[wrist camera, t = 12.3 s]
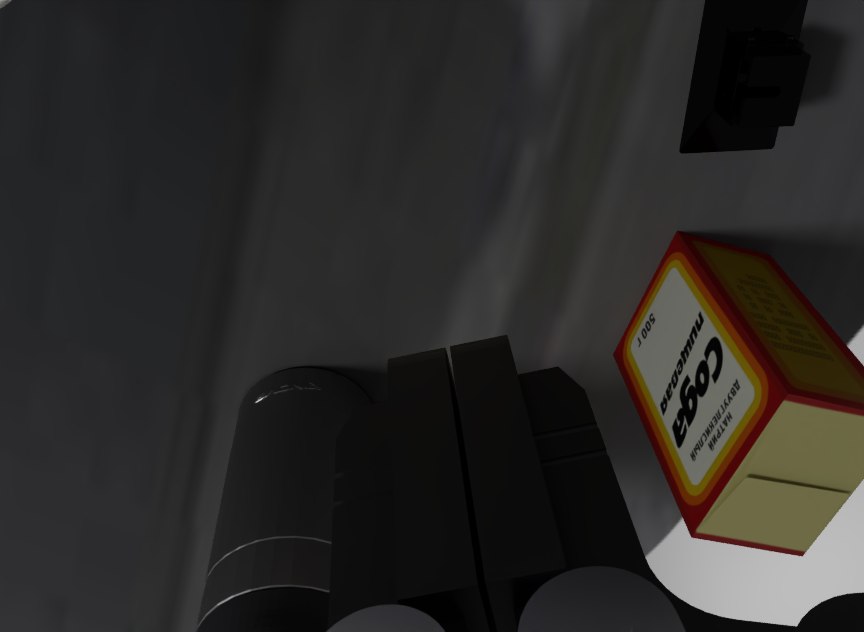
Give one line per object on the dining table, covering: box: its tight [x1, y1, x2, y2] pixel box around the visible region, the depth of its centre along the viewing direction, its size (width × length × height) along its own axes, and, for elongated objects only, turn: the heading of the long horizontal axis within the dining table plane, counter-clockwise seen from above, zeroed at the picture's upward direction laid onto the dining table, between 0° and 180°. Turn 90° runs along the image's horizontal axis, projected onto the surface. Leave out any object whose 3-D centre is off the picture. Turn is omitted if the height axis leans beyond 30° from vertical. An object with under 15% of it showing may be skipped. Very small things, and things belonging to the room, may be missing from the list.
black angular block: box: [679, 0, 811, 153], centre depth 43 cm, size 12×7×5 cm, turn 0°
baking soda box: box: [613, 231, 864, 556], centre depth 46 cm, size 10×6×16 cm
